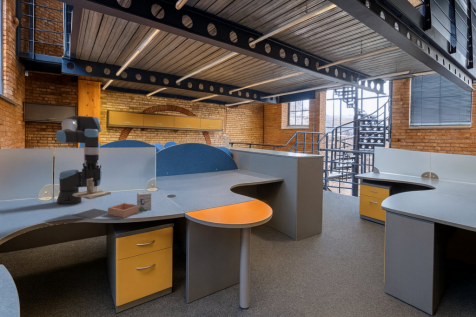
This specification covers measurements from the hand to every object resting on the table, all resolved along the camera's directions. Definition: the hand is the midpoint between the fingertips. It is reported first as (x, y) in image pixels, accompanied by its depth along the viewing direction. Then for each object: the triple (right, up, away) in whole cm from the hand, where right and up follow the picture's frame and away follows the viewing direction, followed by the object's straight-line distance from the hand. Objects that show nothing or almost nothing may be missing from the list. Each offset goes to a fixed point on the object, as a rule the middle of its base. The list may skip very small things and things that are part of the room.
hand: (92, 190), depth 161 cm
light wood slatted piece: (0, -3, 0) cm, 3 cm away
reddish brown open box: (+18, -16, +5) cm, 24 cm away
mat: (0, -15, +1) cm, 15 cm away
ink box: (+27, -15, +16) cm, 35 cm away
